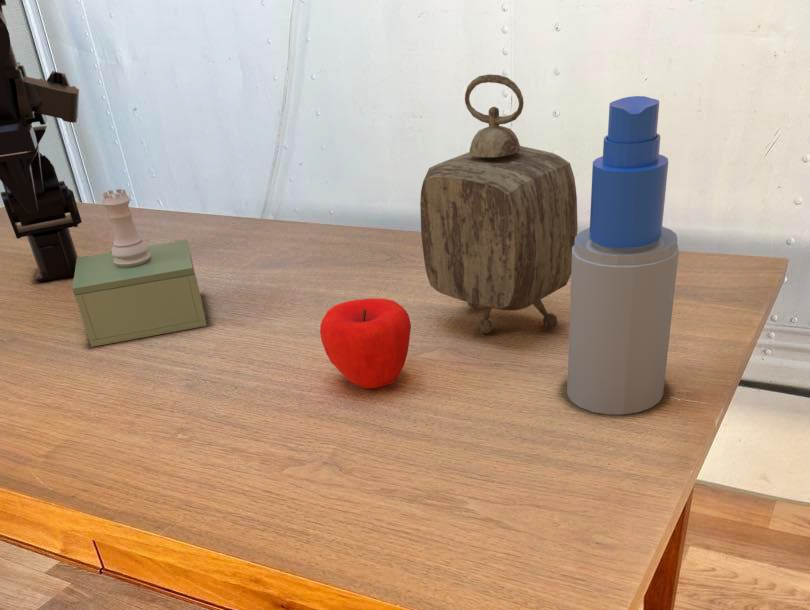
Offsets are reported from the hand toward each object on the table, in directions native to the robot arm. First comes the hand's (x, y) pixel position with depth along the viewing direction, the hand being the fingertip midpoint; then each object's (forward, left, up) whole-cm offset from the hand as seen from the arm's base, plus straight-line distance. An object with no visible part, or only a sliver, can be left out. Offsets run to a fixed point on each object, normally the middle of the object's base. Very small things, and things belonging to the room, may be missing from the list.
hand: (36, 202), depth 104 cm
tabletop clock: (+32, +48, -13) cm, 59 cm away
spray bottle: (+51, +53, -13) cm, 75 cm away
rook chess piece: (+10, +10, -6) cm, 16 cm away
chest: (+11, +10, -13) cm, 20 cm away
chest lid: (+11, +10, -7) cm, 16 cm away
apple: (+39, +32, -13) cm, 52 cm away
